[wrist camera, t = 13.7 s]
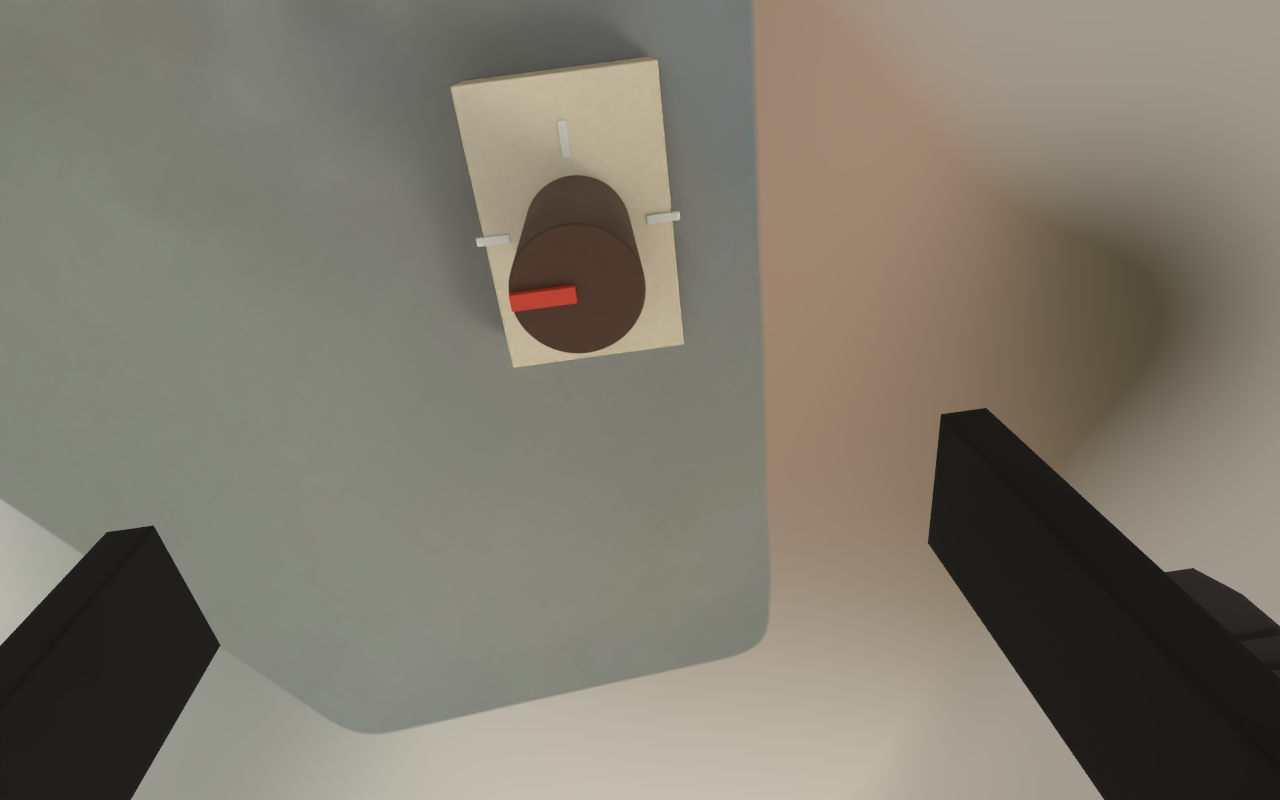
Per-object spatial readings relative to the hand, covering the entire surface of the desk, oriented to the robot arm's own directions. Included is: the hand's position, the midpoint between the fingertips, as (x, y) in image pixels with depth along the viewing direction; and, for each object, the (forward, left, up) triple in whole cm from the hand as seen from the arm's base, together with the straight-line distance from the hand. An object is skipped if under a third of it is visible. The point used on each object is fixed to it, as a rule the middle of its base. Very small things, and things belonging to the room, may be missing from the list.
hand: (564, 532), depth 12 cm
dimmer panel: (0, 0, -23) cm, 23 cm away
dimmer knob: (0, 0, -20) cm, 20 cm away
